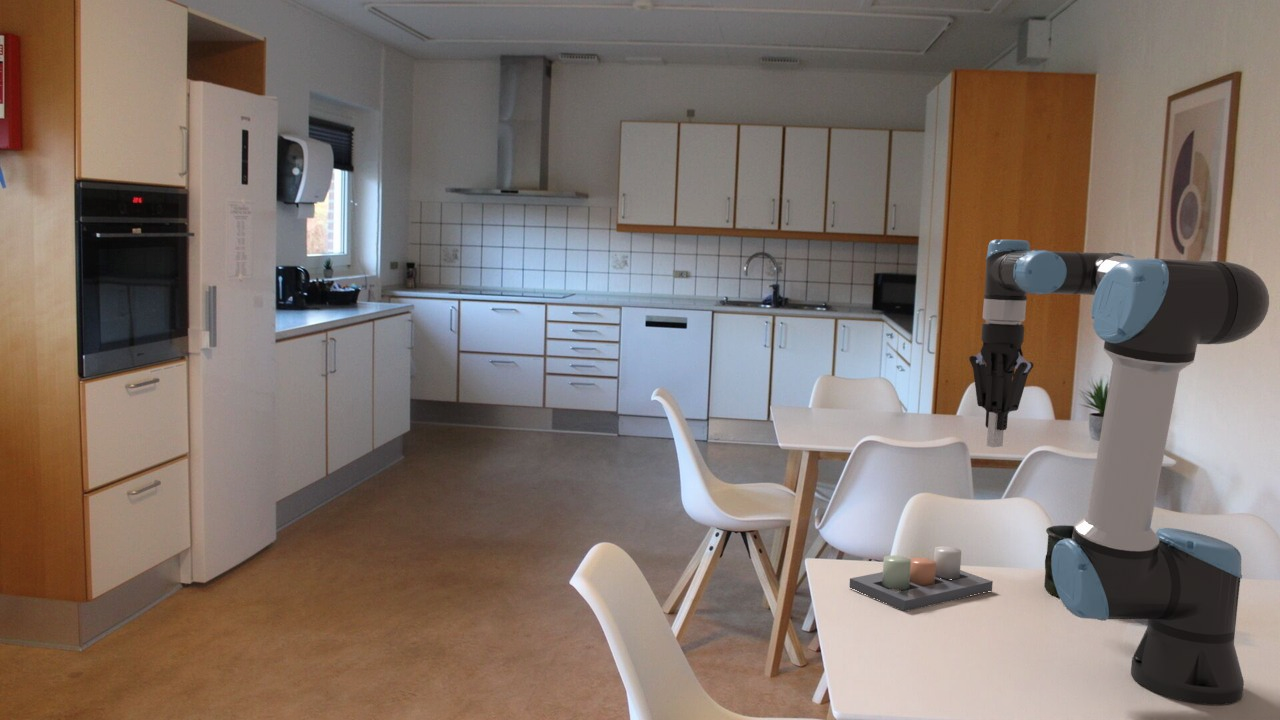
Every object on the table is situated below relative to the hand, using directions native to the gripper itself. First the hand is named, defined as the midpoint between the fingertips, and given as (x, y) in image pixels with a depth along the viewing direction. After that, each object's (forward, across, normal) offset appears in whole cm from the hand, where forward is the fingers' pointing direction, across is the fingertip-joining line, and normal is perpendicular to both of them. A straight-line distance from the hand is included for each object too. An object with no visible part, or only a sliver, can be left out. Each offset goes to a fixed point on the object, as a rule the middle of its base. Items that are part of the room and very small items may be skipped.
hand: (994, 445), depth 194 cm
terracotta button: (+28, +6, +11) cm, 31 cm away
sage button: (+26, +6, +18) cm, 33 cm away
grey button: (+26, +6, +4) cm, 27 cm away
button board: (+28, +6, +11) cm, 31 cm away
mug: (+29, -9, -13) cm, 33 cm away
